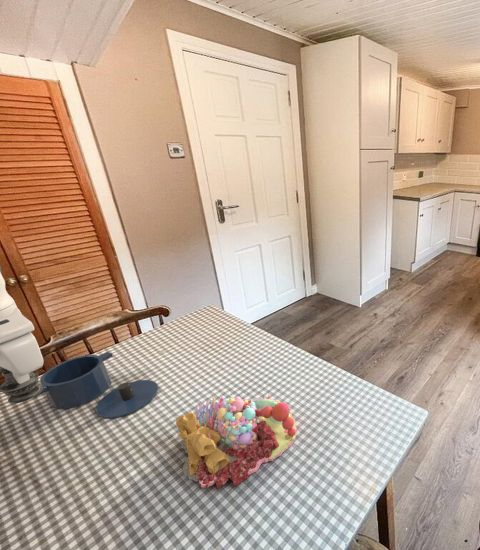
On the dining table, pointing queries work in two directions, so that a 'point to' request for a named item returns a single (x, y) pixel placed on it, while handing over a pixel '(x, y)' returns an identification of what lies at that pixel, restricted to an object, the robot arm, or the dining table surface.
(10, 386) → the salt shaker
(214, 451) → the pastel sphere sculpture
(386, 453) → the dining table surface
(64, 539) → the dining table surface
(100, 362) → the pot
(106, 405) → the pot lid
